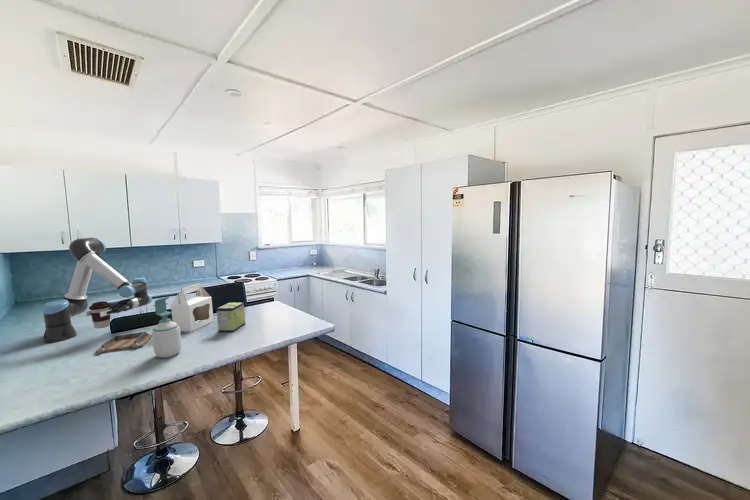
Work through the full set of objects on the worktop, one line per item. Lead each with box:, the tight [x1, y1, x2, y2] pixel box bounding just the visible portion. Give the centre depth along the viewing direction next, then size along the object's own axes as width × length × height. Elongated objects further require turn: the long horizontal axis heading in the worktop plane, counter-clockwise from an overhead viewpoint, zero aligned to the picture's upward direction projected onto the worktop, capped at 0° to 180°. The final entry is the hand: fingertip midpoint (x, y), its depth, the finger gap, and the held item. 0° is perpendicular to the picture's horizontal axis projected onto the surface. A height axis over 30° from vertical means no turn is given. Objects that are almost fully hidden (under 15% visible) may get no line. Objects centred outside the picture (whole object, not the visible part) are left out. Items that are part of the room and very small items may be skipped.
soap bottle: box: [151, 296, 182, 359], centre depth 170 cm, size 12×12×31 cm
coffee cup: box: [88, 300, 111, 329], centre depth 195 cm, size 10×10×15 cm
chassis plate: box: [95, 331, 153, 354], centre depth 187 cm, size 22×21×4 cm
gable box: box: [170, 282, 214, 333], centre depth 217 cm, size 22×13×28 cm, turn 170°
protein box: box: [216, 301, 246, 333], centre depth 210 cm, size 10×16×16 cm
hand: (93, 314), depth 190 cm, fingers closed on coffee cup, 10 cm apart
